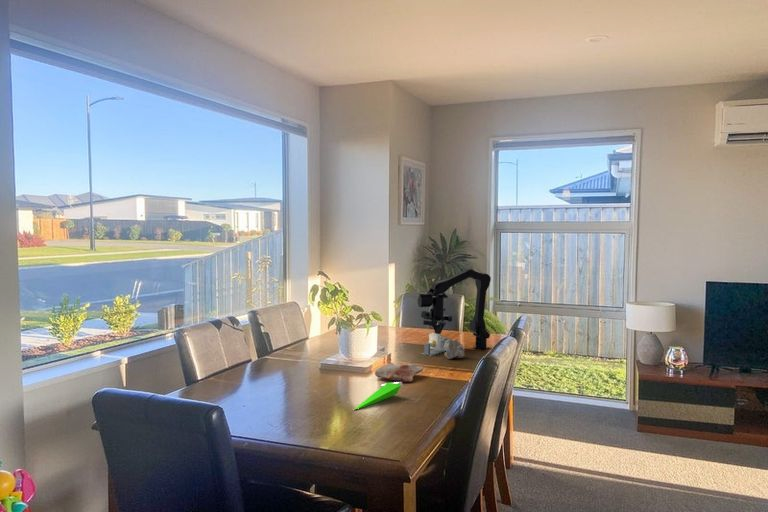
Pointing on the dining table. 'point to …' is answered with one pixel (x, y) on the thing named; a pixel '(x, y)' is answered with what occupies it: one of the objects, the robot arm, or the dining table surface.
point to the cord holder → (432, 344)
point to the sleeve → (436, 338)
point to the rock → (453, 349)
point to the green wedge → (382, 393)
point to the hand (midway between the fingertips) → (437, 336)
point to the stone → (398, 372)
